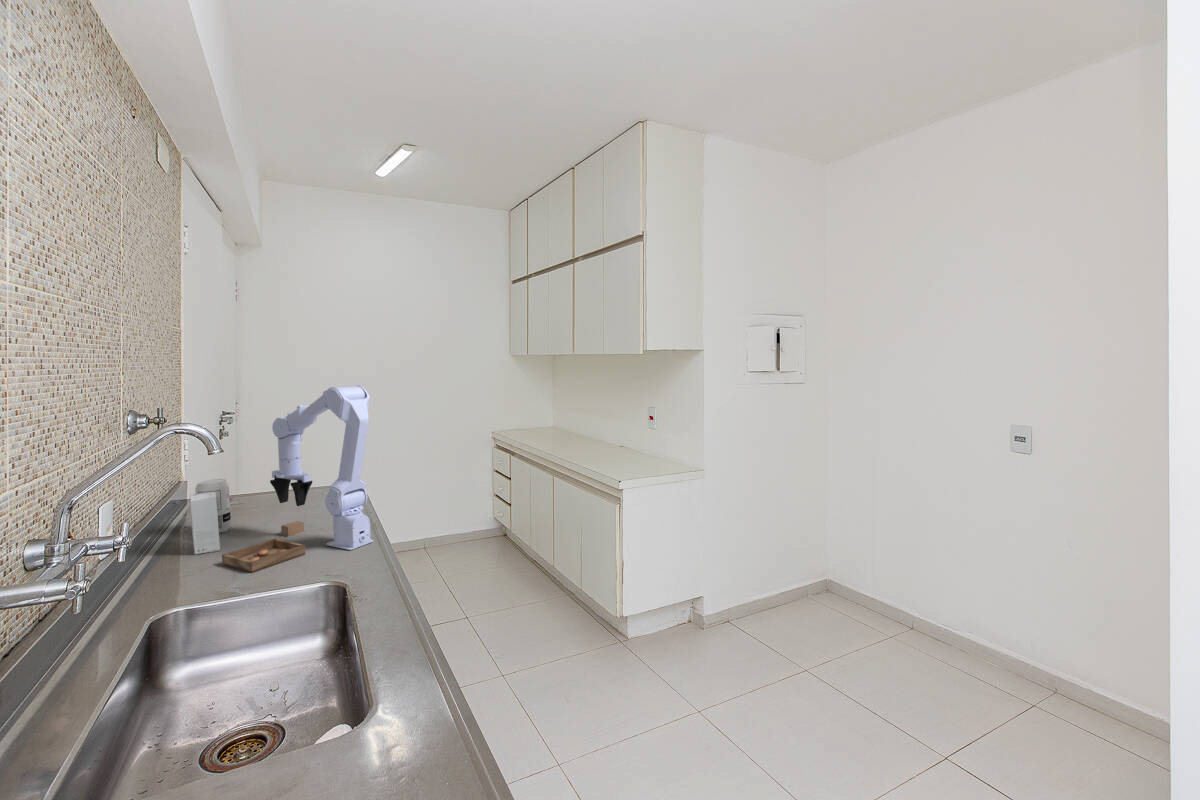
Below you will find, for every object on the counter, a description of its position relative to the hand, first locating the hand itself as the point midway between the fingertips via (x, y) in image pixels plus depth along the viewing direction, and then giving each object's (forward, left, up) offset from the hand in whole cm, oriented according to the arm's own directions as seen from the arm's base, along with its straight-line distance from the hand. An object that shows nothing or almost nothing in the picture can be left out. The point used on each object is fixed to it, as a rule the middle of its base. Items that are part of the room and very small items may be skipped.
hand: (292, 503), depth 163 cm
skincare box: (+9, +19, -9) cm, 23 cm away
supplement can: (+23, +9, -9) cm, 26 cm away
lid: (0, 0, -10) cm, 10 cm away
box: (-13, +17, -9) cm, 23 cm away
